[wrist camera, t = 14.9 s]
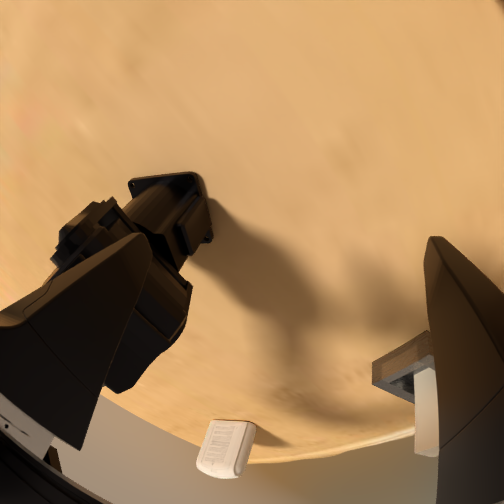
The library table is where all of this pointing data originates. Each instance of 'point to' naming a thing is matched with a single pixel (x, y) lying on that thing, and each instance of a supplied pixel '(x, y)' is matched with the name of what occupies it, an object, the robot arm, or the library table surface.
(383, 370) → the grey rectangular tray
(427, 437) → the pale grey rectangular block
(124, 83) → the library table surface
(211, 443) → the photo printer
